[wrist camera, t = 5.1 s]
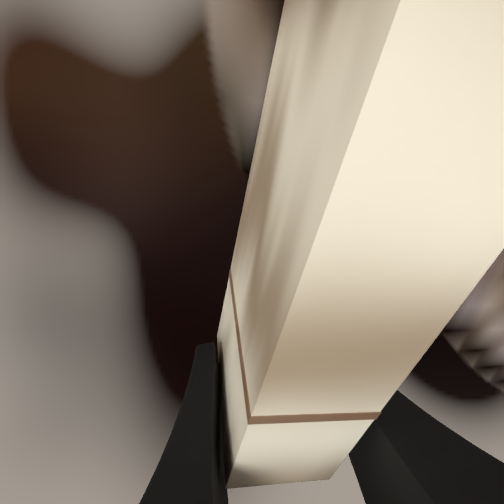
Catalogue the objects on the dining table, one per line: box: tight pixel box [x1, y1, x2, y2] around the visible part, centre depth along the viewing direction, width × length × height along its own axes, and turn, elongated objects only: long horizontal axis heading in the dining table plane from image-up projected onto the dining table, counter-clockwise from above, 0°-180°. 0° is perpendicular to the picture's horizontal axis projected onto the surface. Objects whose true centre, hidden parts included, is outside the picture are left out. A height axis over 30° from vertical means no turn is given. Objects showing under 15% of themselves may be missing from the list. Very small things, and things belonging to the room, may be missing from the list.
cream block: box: [217, 0, 504, 489], centre depth 8 cm, size 12×3×6 cm, turn 169°
